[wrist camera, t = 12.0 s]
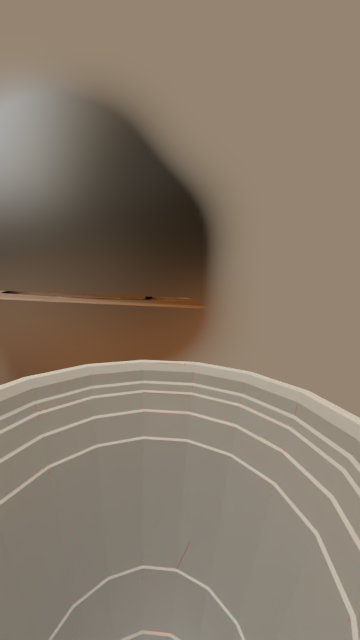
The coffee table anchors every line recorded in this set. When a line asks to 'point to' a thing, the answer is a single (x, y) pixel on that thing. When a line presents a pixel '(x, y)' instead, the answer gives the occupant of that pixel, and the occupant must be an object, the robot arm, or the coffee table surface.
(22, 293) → the coffee table surface
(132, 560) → the plastic cup
